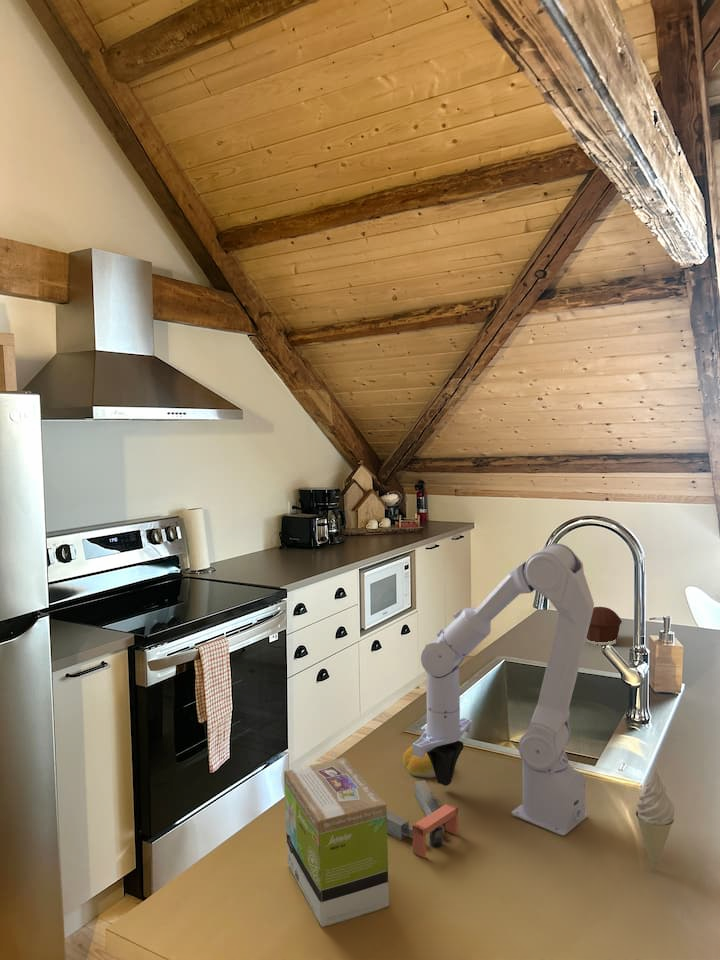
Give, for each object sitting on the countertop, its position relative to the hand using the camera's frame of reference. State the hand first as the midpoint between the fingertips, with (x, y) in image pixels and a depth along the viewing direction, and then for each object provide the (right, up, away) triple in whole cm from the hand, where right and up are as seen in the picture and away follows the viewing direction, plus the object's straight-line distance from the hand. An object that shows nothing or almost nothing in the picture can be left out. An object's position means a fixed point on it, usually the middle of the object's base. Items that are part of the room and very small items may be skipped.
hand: (443, 782), depth 126 cm
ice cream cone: (+27, -3, -24) cm, 36 cm away
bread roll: (-2, -1, +9) cm, 10 cm away
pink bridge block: (-3, -3, -16) cm, 16 cm away
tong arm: (-3, -2, -8) cm, 9 cm away
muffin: (+56, +5, +85) cm, 102 cm away
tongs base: (-9, -2, -12) cm, 15 cm away
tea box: (-18, -4, -26) cm, 32 cm away
